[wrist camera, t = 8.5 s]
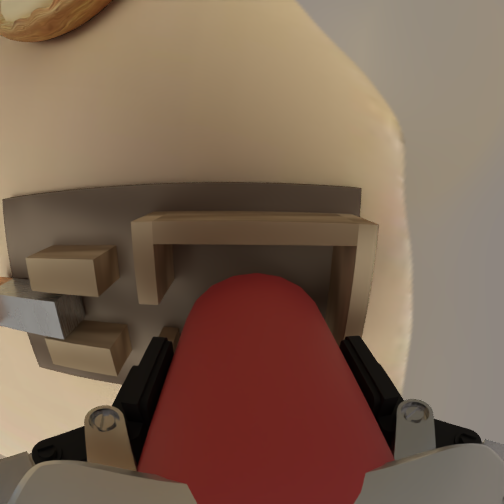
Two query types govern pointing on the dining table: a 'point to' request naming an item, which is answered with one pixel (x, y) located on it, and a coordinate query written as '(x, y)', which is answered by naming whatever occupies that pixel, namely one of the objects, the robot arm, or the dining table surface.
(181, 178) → the dining table surface
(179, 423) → the beer can
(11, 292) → the copper-tipped grey bar
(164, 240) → the dock
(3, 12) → the pastry
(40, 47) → the dining table surface
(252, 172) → the dining table surface
